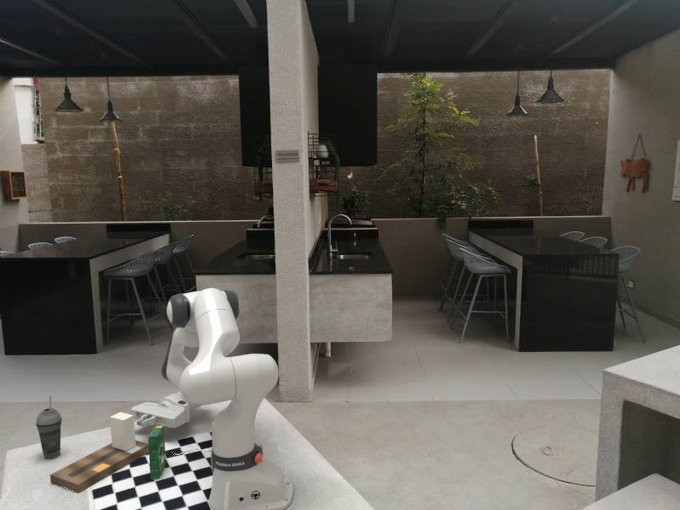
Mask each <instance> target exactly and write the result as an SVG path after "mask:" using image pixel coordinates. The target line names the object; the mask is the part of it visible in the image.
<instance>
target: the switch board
mask: <svg viewBox="0 0 680 510" xmlns="http://www.w3.org/2000/svg"><path fill="white" fill-rule="evenodd" d="M135 440H136V439H135ZM147 454H149V445H148V442H144V441H140V440H136V446H134V447H132V448H130V449H128V450H127V451H124V450H121V449H117V448H114V447H112V442H111V443H109V444H107V445H105V446H103V447H101V448H99V449H97V450H95V451H93V452H91V453H90V454H87V455H85V456H83V457H81V458H79V459H78V460H76V461H75V462H72V463H70V464H68V465H67V466H65V467H63V468H61V469H58V470H57V471H54V472H53V473H51V474H49V477H50V478H49V479H50V484H52V483H54V484H53V485H55V484H57V485H56V486H58V485H60V486H59V487H61V486H63V487H66V488H68V489H67V490H69V489H71V490H70V491H72V490H73V491H72V492H74V491H76V492H75V493H77V492H80V493H82V492H83V491H85V490H87V489H88V488H89V487H91V486H93V485H96V484H97V483H99V482H101V481H102V480H104V479H105V478H107V477H109V476H110V475H113V474H114V473H115V472H117V470H118V471H119V470H121V469H123V468H125V467H126V466H128V465H130V464H131V463H133V462H135V461H137V460H139V459H140V458H141V457H143V456H145V455H147ZM63 487H62V488H63ZM66 488H65V489H66Z"/></svg>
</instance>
